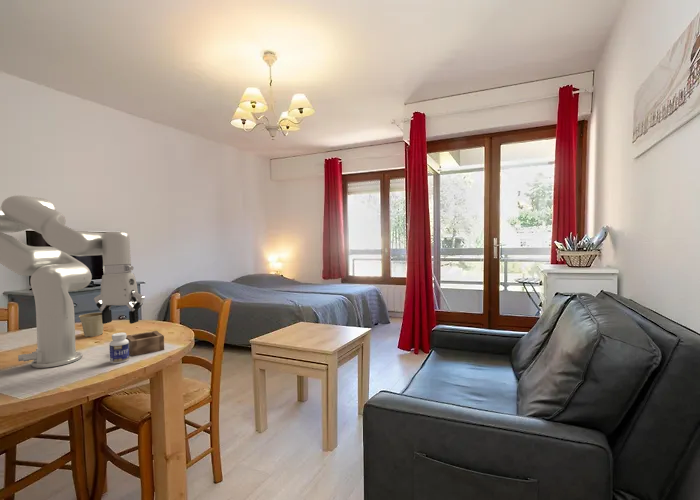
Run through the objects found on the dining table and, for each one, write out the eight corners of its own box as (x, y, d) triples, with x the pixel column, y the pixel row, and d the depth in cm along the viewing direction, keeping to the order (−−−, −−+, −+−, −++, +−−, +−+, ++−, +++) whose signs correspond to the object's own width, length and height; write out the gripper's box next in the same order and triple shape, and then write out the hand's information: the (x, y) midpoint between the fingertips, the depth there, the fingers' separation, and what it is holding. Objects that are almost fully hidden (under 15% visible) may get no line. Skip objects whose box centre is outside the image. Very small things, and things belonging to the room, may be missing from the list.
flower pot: (73, 337, 144) (72, 316, 144) (96, 331, 153) (95, 311, 153) (90, 338, 142) (89, 317, 141) (112, 332, 151) (111, 312, 150)
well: (132, 356, 120) (131, 341, 120) (126, 349, 127) (125, 335, 127) (164, 349, 126) (163, 335, 126) (156, 343, 134) (156, 330, 134)
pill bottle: (113, 365, 111) (112, 337, 111) (107, 361, 114) (106, 334, 114) (132, 360, 115) (131, 333, 115) (125, 357, 119) (124, 331, 118)
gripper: (150, 268, 117) (152, 319, 117) (103, 269, 119) (106, 320, 119) (133, 270, 109) (136, 325, 110) (83, 271, 111) (86, 325, 112)
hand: (120, 322), depth 114 cm, fingers open, 9 cm apart
